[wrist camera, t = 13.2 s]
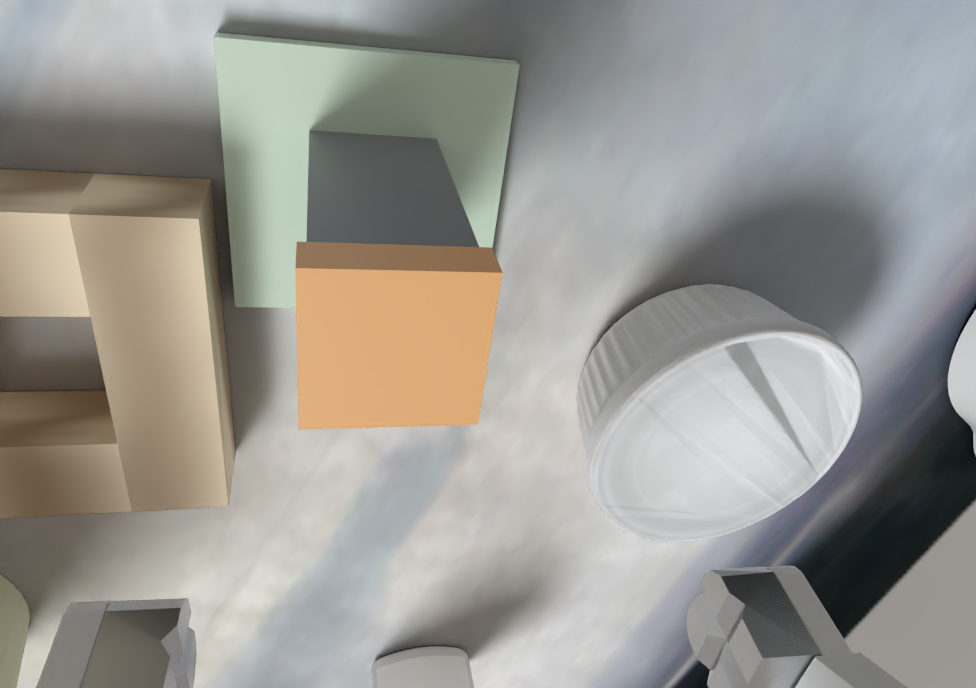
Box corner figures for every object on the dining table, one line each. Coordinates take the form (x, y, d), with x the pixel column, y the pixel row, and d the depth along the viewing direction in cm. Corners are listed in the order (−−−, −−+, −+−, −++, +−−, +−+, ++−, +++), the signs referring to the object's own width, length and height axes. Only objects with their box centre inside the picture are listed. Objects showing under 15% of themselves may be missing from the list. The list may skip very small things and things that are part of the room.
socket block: (211, 179, 23) (198, 218, 21) (235, 452, 30) (228, 506, 27) (-239, 157, 20) (-313, 200, 18) (-100, 464, 27) (-141, 525, 24)
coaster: (515, 60, 23) (519, 65, 22) (480, 301, 28) (483, 309, 27) (215, 32, 21) (213, 36, 20) (236, 298, 26) (234, 307, 25)
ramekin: (842, 291, 31) (924, 362, 27) (713, 472, 37) (764, 555, 32) (626, 228, 27) (682, 300, 23) (517, 442, 33) (546, 531, 29)
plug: (443, 132, 23) (502, 272, 16) (431, 254, 25) (477, 424, 18) (302, 123, 22) (295, 268, 15) (304, 250, 24) (298, 429, 17)
